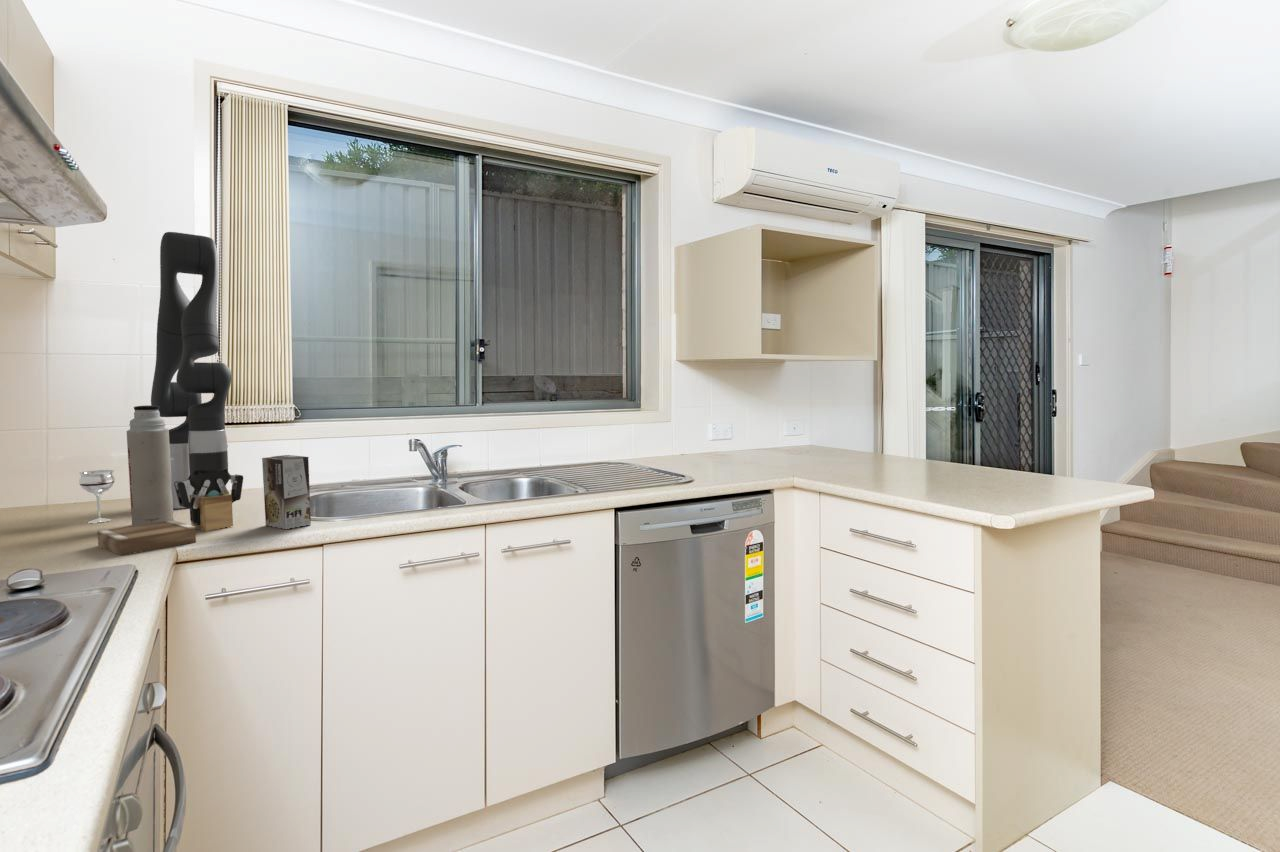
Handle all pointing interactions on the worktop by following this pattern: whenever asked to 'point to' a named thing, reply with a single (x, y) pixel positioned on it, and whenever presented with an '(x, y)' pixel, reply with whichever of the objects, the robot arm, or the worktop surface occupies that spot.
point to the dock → (146, 537)
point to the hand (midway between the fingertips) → (211, 522)
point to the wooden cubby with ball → (215, 512)
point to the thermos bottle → (149, 467)
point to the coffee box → (286, 491)
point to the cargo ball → (212, 494)
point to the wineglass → (97, 486)
